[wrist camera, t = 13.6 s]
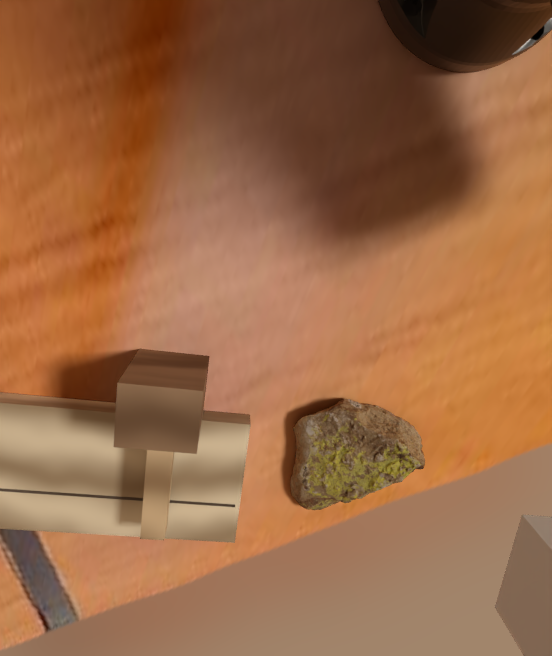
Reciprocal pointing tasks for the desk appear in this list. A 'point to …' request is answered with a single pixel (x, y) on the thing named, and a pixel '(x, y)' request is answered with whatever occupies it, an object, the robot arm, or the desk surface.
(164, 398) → the brown blocky t-shaped piece
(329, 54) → the desk surface
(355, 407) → the rock
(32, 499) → the board
